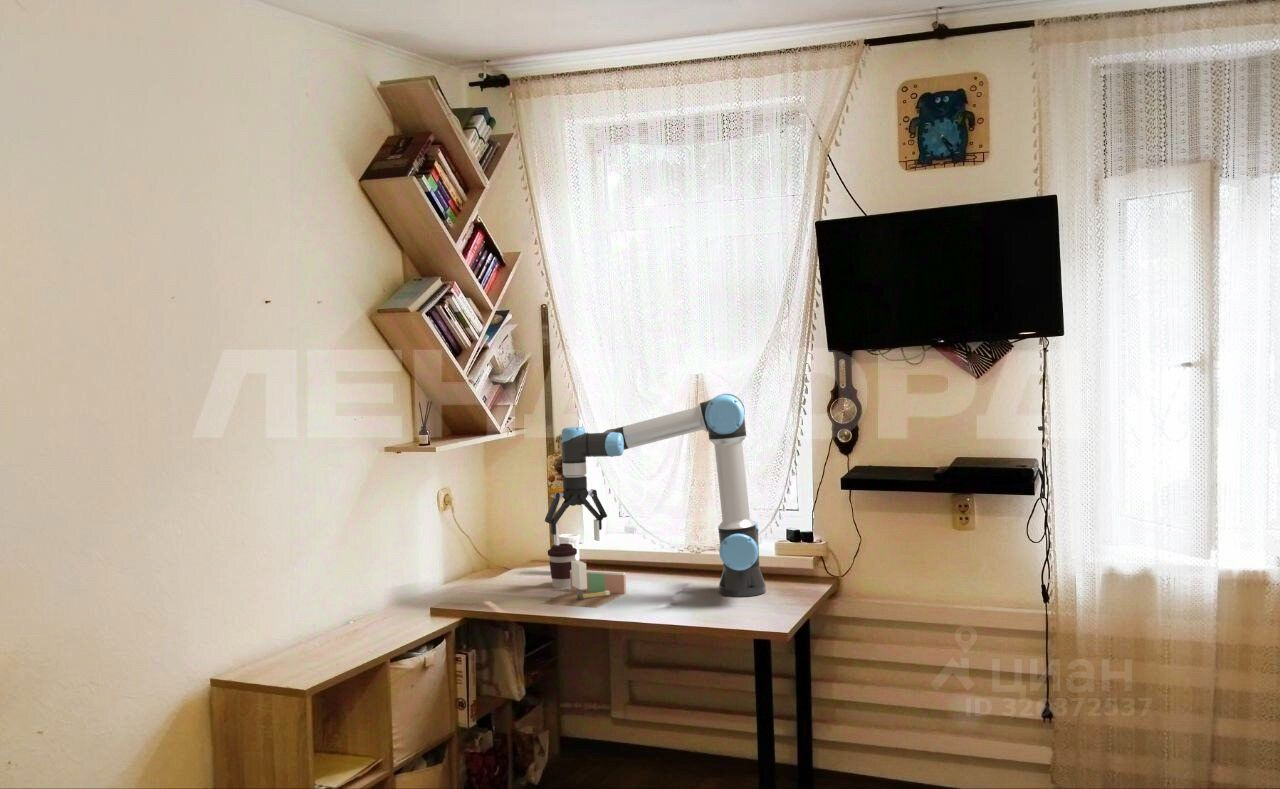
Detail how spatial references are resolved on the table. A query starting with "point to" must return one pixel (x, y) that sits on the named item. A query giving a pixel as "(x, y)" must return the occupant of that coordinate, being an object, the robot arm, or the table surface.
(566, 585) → the coffee cup
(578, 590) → the white block with rod
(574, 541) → the cup
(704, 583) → the table surface
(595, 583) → the scale wall
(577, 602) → the board
